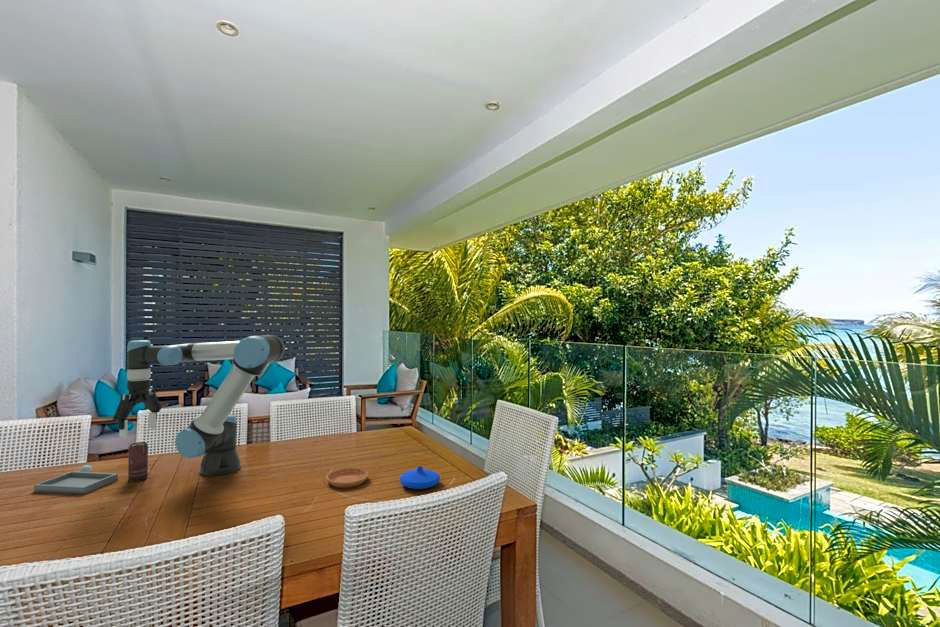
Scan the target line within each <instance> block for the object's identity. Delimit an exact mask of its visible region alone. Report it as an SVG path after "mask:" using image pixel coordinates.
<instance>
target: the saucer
mask: <svg viewBox="0 0 940 627" xmlns="http://www.w3.org/2000/svg"><path fill="white" fill-rule="evenodd" d="M367 479H369V472H368V471H367V470H365V469H362V468H355V467H346V468H339V469H335V470H332V471H331V472H329V473H327V475H326V481H327V483H328V484H330V485H331V486H332V487H335V488H338V489H339V488H340V489H349V488H354V487H358V486H361V485H362V484H363V483H364V482H365V481H366V480H367Z"/></svg>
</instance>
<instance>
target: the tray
mask: <svg viewBox="0 0 940 627" xmlns="http://www.w3.org/2000/svg"><path fill="white" fill-rule="evenodd" d="M118 475H119V473H110V472H94V471H91V472H80V471H73V470H71V471H69V472H67V473H64V474H61V475H57V476H56V477H52V478H50V479H46V480H44V481H41V482H39V483H36V484H34V485H33V492H35V493H51V494H52V493H54V494H68V495H69V494H71V495H72V494H73V495H85V494H88V493H91V492H93V491H95V490H97V489H100V488H102V487H105V486H107V485H109V484H112V483H115V482H117V481H118V480H119V476H118Z"/></svg>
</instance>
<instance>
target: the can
mask: <svg viewBox="0 0 940 627" xmlns="http://www.w3.org/2000/svg"><path fill="white" fill-rule="evenodd" d="M148 459H149V445H148V444H147V442H145V441H140V442H139V441H138V442H134V443H131V444H129V446H128V474H127V475H128V477H127V478H128V481H129V482H133V483H134V482H141V481H143V480H146V479H147V477H148V475H149V474H148V473H149V472H148V469H149V467H148V464H149V460H148Z"/></svg>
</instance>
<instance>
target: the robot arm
mask: <svg viewBox="0 0 940 627" xmlns="http://www.w3.org/2000/svg"><path fill="white" fill-rule="evenodd" d="M285 347H286V346H285V344H284V340H282V339H281V337H279V336H277V335H273V334H264V335H250V336H247V337H244V338H242V339H240V340H234V341H233V340H231V341H217V342H216V341H214V342H213V341H212V342H194V343H193V342H188V343H181V344H170V345H152V342H151V340H146V339H145V340H144V339H143V340H130V341H129V342H127V347H126V348H127V349H126V359H127V360H126V361H127V363H126V366H127V367H126V375H127V376H126V379H127V381H126V390H127V391H128V393H127V394H123V393H122V394H120V401H119V402H118V406H117V408H116V410H115V413H114V416H113V418H112V421H115V422H117V423H118V427H117V429H118V431H119V433H118V434H119V436H118V438H119V439H127V438H128V437H129V436H128V428H129V427H128V425H129V424H128V421H129V420H127V419H128V417H129V416H130V414H131V412H132V410H133V409H134V407H135V406H136V405H137V404H138V405H139V404H141V403H143V405H144V406H145V407H146V408H147V409H148V410H149V412H148V429H151V430H155V429H157V419H158V413H160V412H161V410H162V405H161V403H160V400H159V399H158V396H157V392H156V389H155V388H151V386H152V385H151V384H152V383H151V382H152V381H151V379H150V378H151V376H152V374H151V372H152V370H151V369H152V367H151V366H152V365H155V366H156V365H158V366H176V365H178V364H179V363H184V362H198V361H201V362H202V361H219V360H220V361H221V360H222V361H223V360H231V363H232V367H231V369H230V371H229V372H228V374H227V375H226V377H225V378H224V380H223V381H222V383H220V386H219V387H218V389H217V390H216V392H215V393H214V394H213V396H212V397H211V399H210V401H209V403H208V404H207V405H206V407H205V409H204V410H203V412H202V413H201V414H198V415H195V417H194V418H193V419H192V420H191V422H190V424H189V425H188V427H186V428H184V429H181V430H180V431H179V432H178V433H177V434H176V436H175V442H174V444H175V446H176V450H177V452H178V453H179V454H180V455H181V456H182V457H184V458H186V459H196V458H199V457H201V456H203V457H202V460H201V462H200V466H199V474H200V475H203V476H222V475H225V474H226V475H227V474H230V473H234V472H236V471H238V470H239V469H240V468H241V466H242V465H241V464H242V461H241V459H240V455H239V453H238V450H237V429H238V428H237V425H238V422H237V416H236V415H234V414H231V413H232V411H233V410H234V408H235V407H236V405H237V404H238V402H239V401H240V399H241V397H242V396H243V394H244V393H245V392H246V390H247V388H248V387H249V385H250V384H251V382H252V381H253V379H254V378H255V377H259V376H260V375H261V374H262V373H263V372H264V370H265V369H266V367H267V365H269V364H273V363H276V362H278V361H279V360H280V359H282V357H283V356H284V353H285V349H286V348H285Z"/></svg>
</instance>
